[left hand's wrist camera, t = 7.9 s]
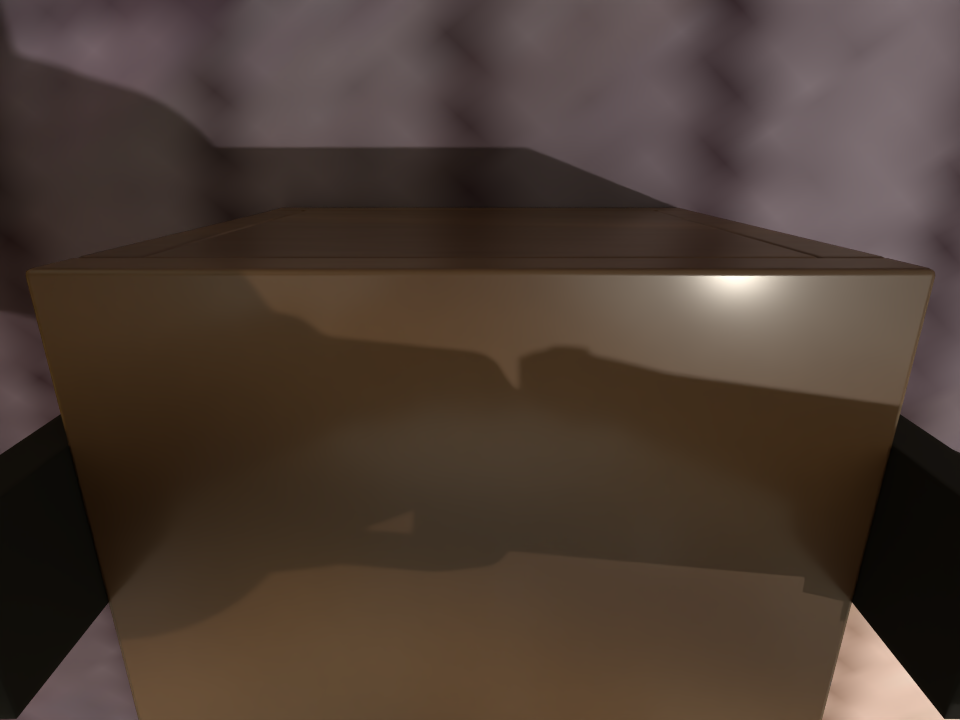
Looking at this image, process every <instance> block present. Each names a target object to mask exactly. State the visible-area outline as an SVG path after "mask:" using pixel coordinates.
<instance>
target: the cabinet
mask: <svg viewBox="0 0 960 720" xmlns="http://www.w3.org/2000/svg"><path fill="white" fill-rule="evenodd" d="M26 279H27V283H28V287H29V291H30V295H31V299H32V303H33V307H34V310H35V314H36V318H37V322H38V326H39V330H40V334H41V338H42V342H43V346H44V350H45V354H46V358H47V362H48V365H49V369H50V373H51V377H52V381H53V385H54V389H55V393H56V397H57V401H58V405H59V409H60V413H61V417H62V420H63V424H64V428H65V432H66V436H67V440H68V444H69V448H70V452H71V456H72V460H73V464H74V468H75V471H76V475H77V479H78V483H79V487H80V491H81V495H82V499H83V503H84V507H85V511H86V515H87V519H88V523H89V526H90V530H91V534H92V538H93V542H94V546H95V550H96V554H97V558H98V562H99V566H100V570H101V574H102V578H103V581H104V585H105V589H106V593H107V597H108V601H109V605H110V609H111V613H112V617H113V621H114V625H115V629H116V633H117V636H118V640H119V644H120V648H121V652H122V656H123V660H124V664H125V668H126V672H127V676H128V680H129V684H130V687H131V691H132V695H133V699H134V703H135V707H136V711H137V715H138V719H139V720H822V717H823V713H824V709H825V705H826V701H827V697H828V693H829V690H830V686H831V682H832V678H833V674H834V670H835V666H836V662H837V658H838V654H839V650H840V647H841V643H842V639H843V635H844V631H845V627H846V623H847V619H848V615H849V611H850V607H851V603H852V600H853V596H854V592H855V588H856V584H857V580H858V576H859V572H860V568H861V564H862V560H863V556H864V553H865V549H866V545H867V541H868V537H869V533H870V529H871V525H872V521H873V517H874V513H875V509H876V506H877V502H878V498H879V494H880V490H881V486H882V482H883V478H884V474H885V470H886V466H887V463H888V459H889V455H890V451H891V447H892V443H893V439H894V435H895V431H896V427H897V423H898V419H899V416H900V412H901V408H902V404H903V400H904V396H905V392H906V388H907V384H908V380H909V376H910V372H911V369H912V365H913V361H914V357H915V353H916V349H917V345H918V341H919V337H920V333H921V329H922V326H923V322H924V318H925V314H926V310H927V306H928V302H929V298H930V294H931V290H932V286H933V282H934V279H935V272H934V271H933V270H932V269H929V268H926V267H922V266H918V265H914V264H910V263H905V262H901V261H897V260H893V259H889V258H884V257H882V256H877V255H873V254H869V253H865V252H861V251H857V250H852V249H848V248H844V247H840V246H836V245H831V244H827V243H823V242H819V241H815V240H810V239H806V238H802V237H798V236H794V235H789V234H785V233H781V232H777V231H773V230H768V229H764V228H760V227H756V226H752V225H748V224H743V223H739V222H735V221H731V220H727V219H722V218H718V217H714V216H710V215H706V214H701V213H697V212H693V211H689V210H685V209H681V208H279V209H275V210H271V211H268V212H264V213H260V214H255V215H251V216H247V217H243V218H239V219H235V220H230V221H226V222H222V223H218V224H214V225H210V226H205V227H201V228H197V229H193V230H189V231H185V232H180V233H176V234H172V235H168V236H164V237H160V238H155V239H151V240H147V241H143V242H139V243H135V244H130V245H126V246H122V247H118V248H114V249H110V250H105V251H101V252H97V253H93V254H89V255H85V256H81V257H79V258H72V259H68V260H63V261H59V262H55V263H51V264H47V265H43V266H38V267H34V268H31V269H29V270H27V271H26Z"/></svg>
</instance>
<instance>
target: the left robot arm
mask: <svg viewBox="0 0 960 720" xmlns="http://www.w3.org/2000/svg"><path fill="white" fill-rule="evenodd" d="M108 602H109V601H108V597H107V593H106V589H105V585H104V581H103V578H102V574H101V570H100V566H99V562H98V558H97V554H96V550H95V546H94V542H93V538H92V534H91V530H90V526H89V523H88V519H87V515H86V511H85V507H84V503H83V499H82V495H81V491H80V487H79V483H78V479H77V475H76V471H75V468H74V464H73V460H72V456H71V452H70V448H69V444H68V440H67V436H66V432H65V428H64V424H63V420H62V417H61V414H60V415H59V416H57V417H56V418H54V419H53V420H51V421H50V422H49V423H47V424H46V425H44V426H43V427H41V428H40V429H38V430H37V431H35V432H34V433H32V434H31V435H29V436H28V437H26V438H25V439H23V440H22V441H20V442H19V443H17V444H16V445H14V446H13V447H11V448H10V449H8V450H7V451H5V452H4V453H2V454H1V455H0V719H17V717H18V716H19V715H20V714H21V712H22V711H23V710H24V709H25V707H26V706H27V705H28V704H29V702H30V701H31V700H32V698H33V697H34V696H35V695H36V693H37V692H38V691H39V690H40V688H41V687H42V686H43V685H44V683H45V682H46V681H47V680H48V678H49V677H50V676H51V674H52V673H53V672H54V671H55V669H56V668H57V667H58V666H59V664H60V663H61V662H62V661H63V659H64V658H65V657H66V655H67V654H68V653H69V652H70V650H71V649H72V648H73V647H74V645H75V644H76V643H77V642H78V640H79V639H80V638H81V637H82V635H83V634H84V633H85V631H86V630H87V629H88V628H89V626H90V625H91V624H92V623H93V621H94V620H95V619H96V618H97V616H98V615H99V614H100V612H101V611H102V610H103V609H104V607H105V606H106V605H107V604H108ZM852 603H853V604H854V605H855V607H856V608H857V609H858V610H859V612H860V613H861V614H862V615H863V617H864V618H865V619H866V620H867V622H868V623H869V624H870V626H871V627H872V628H873V629H874V631H875V632H876V633H877V634H878V636H879V637H880V638H881V639H882V641H883V642H884V643H885V645H886V646H887V647H888V648H889V650H890V651H891V652H892V653H893V655H894V656H895V657H896V658H897V660H898V661H899V662H900V663H901V665H902V666H903V667H904V669H905V670H906V671H907V672H908V674H909V675H910V676H911V677H912V679H913V680H914V681H915V682H916V684H917V685H918V686H919V688H920V689H921V690H922V691H923V693H924V694H925V695H926V696H927V698H928V699H929V700H930V701H931V703H932V704H933V705H934V706H935V708H936V709H937V710H938V712H939V713H940V714H941V715H942V717H943V718H944V719H960V453H959V452H957V451H955V450H952V449H951V448H949V447H948V446H946V445H945V444H943V443H942V442H941V441H939V440H938V439H936V438H935V437H933V436H932V435H930V434H929V433H927V432H926V431H924V430H923V429H921V428H920V427H918V426H917V425H915V424H914V423H912V422H911V421H909V420H908V419H906V418H905V417H903V416H902V415H900V416H899V419H898V423H897V427H896V431H895V435H894V439H893V443H892V447H891V451H890V455H889V459H888V463H887V466H886V470H885V474H884V478H883V482H882V486H881V490H880V494H879V498H878V502H877V506H876V509H875V513H874V517H873V521H872V525H871V529H870V533H869V537H868V541H867V545H866V549H865V553H864V556H863V560H862V564H861V568H860V572H859V576H858V580H857V584H856V588H855V592H854V596H853V600H852Z"/></svg>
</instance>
